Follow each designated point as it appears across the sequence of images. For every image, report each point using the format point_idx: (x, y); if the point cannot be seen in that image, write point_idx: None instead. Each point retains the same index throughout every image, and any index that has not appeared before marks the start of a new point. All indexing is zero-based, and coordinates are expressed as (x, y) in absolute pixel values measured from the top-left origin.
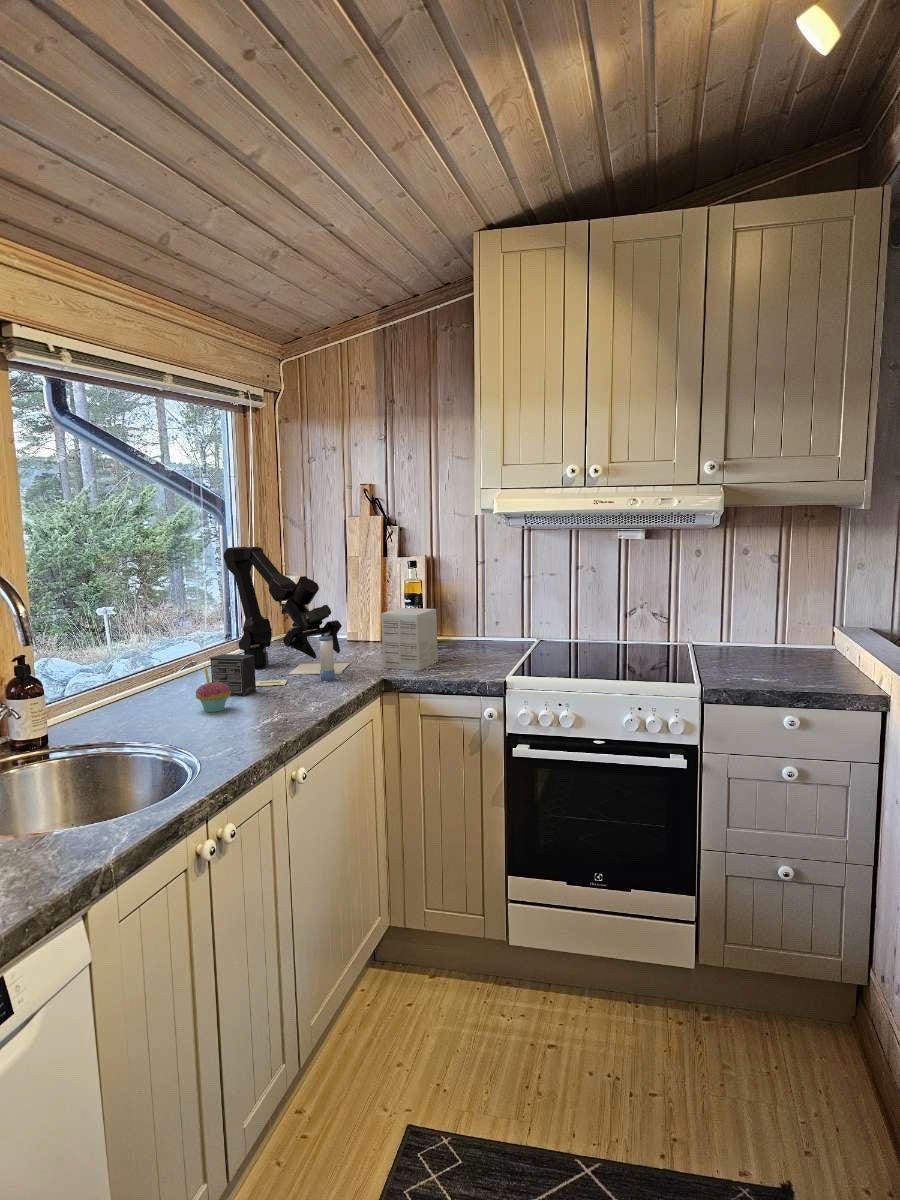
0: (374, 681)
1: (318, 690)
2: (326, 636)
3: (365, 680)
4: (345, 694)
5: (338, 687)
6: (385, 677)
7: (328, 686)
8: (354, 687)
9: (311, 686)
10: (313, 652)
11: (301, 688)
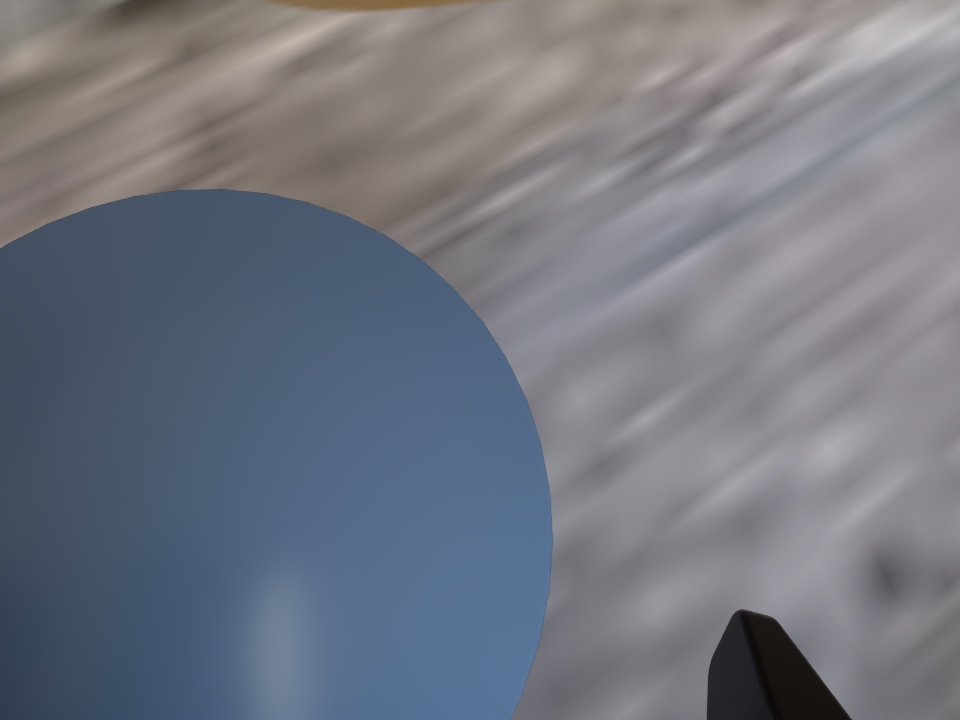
0: (289, 23)
1: (907, 377)
2: (112, 523)
3: (267, 131)
4: (907, 18)
5: (682, 238)
6: (73, 6)
7: (687, 377)
8: (613, 80)
9: (778, 595)
10: (822, 696)
11: (929, 662)
